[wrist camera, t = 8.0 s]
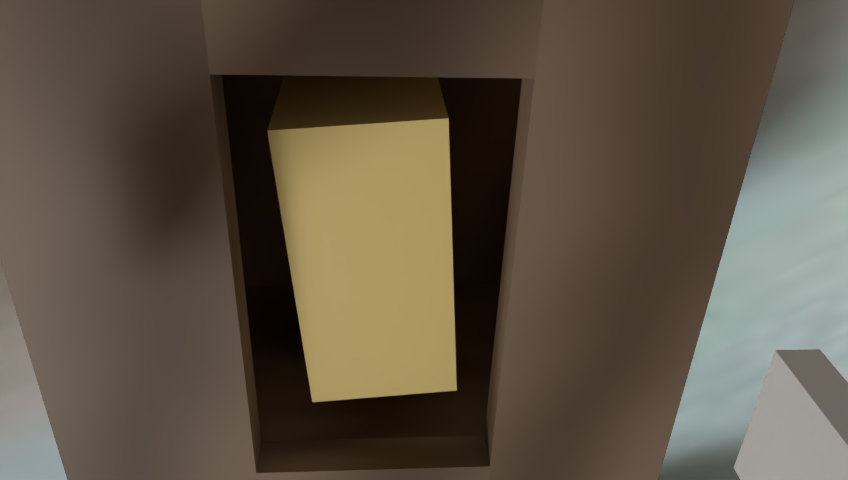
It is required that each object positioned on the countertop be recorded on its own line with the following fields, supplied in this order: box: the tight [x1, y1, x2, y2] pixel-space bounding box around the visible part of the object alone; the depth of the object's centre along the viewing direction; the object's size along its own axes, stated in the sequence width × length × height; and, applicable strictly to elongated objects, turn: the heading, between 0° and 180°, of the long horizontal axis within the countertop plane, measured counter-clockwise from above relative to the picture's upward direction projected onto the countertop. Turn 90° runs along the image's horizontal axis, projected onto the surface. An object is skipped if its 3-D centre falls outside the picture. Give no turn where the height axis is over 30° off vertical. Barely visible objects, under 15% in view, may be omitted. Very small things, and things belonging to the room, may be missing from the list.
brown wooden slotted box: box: [0, 0, 794, 480], centre depth 19 cm, size 14×13×10 cm
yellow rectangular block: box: [267, 75, 457, 402], centre depth 19 cm, size 4×7×8 cm, turn 2°
